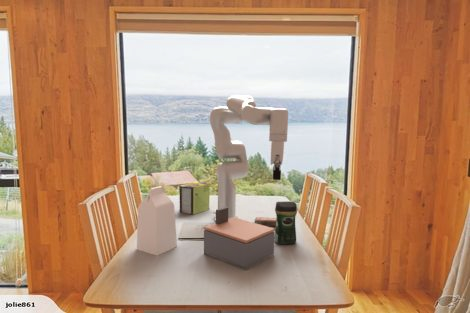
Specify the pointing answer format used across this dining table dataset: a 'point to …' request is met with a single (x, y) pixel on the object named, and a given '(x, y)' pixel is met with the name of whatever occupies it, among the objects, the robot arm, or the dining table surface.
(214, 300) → the dining table surface
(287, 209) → the coffee jar
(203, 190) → the protein box
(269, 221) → the packaged product
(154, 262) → the dining table surface
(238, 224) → the lid
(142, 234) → the milk
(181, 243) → the dining table surface
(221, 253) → the carton
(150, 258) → the dining table surface
